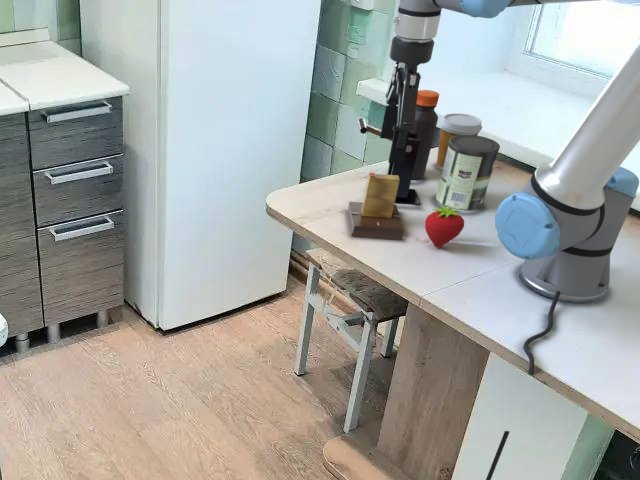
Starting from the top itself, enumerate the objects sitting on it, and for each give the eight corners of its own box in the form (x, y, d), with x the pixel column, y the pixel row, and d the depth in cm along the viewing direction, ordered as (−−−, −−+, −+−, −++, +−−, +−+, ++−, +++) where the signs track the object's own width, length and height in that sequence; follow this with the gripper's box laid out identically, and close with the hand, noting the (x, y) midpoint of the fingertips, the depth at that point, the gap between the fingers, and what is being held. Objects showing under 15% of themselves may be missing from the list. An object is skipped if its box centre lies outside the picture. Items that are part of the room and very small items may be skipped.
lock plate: (401, 240, 165) (404, 228, 163) (351, 237, 165) (353, 225, 164) (394, 215, 174) (396, 203, 172) (346, 211, 175) (349, 200, 173)
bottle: (405, 170, 194) (424, 86, 182) (428, 179, 190) (450, 94, 178) (387, 176, 191) (406, 92, 178) (411, 186, 186) (431, 100, 174)
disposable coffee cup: (478, 170, 194) (492, 122, 187) (451, 178, 190) (465, 129, 183) (447, 157, 201) (459, 110, 193) (421, 165, 197) (432, 116, 189)
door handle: (357, 134, 170) (363, 124, 168) (355, 125, 174) (360, 115, 173) (411, 156, 171) (417, 145, 170) (407, 146, 175) (413, 136, 174)
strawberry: (460, 255, 160) (473, 209, 154) (421, 253, 160) (433, 207, 154) (454, 242, 164) (466, 196, 158) (416, 239, 165) (428, 194, 159)
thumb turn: (389, 213, 169) (398, 174, 163) (391, 218, 167) (400, 178, 162) (360, 211, 169) (368, 172, 164) (361, 216, 168) (369, 176, 162)
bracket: (373, 205, 178) (386, 141, 169) (369, 191, 184) (382, 127, 175) (419, 209, 177) (435, 143, 168) (413, 193, 183) (429, 130, 174)
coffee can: (473, 194, 183) (490, 134, 175) (488, 214, 175) (507, 152, 166) (428, 193, 183) (443, 133, 175) (441, 213, 175) (457, 151, 166)
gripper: (384, 20, 157) (365, 127, 170) (402, 54, 137) (379, 172, 150) (423, 22, 156) (401, 129, 169) (447, 56, 136) (420, 175, 149)
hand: (391, 150), depth 159 cm, fingers open, 13 cm apart
